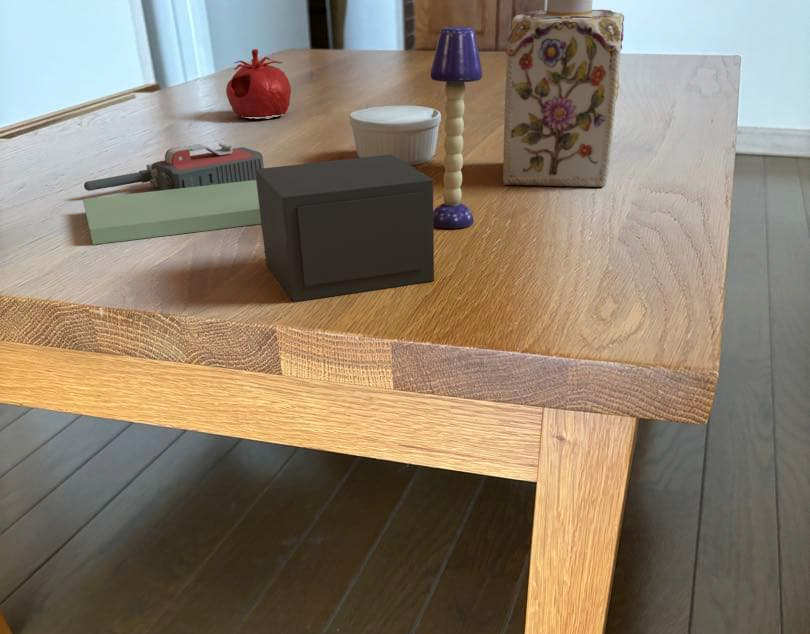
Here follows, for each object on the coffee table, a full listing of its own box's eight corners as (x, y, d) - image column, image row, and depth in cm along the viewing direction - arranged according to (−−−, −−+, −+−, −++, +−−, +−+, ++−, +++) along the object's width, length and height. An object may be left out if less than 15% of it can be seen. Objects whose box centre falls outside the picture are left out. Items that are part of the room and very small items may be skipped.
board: (92, 245, 84) (89, 229, 83) (85, 213, 93) (82, 199, 92) (296, 219, 89) (295, 204, 88) (271, 192, 99) (269, 178, 98)
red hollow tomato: (286, 108, 142) (280, 43, 137) (299, 119, 135) (293, 49, 129) (225, 114, 140) (216, 47, 135) (235, 124, 132) (226, 54, 127)
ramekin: (433, 170, 105) (433, 122, 102) (342, 169, 107) (339, 121, 104) (447, 150, 114) (447, 105, 111) (362, 149, 116) (360, 105, 113)
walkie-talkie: (241, 168, 109) (83, 197, 99) (236, 129, 106) (74, 155, 96) (277, 180, 103) (114, 213, 93) (273, 140, 100) (104, 169, 91)
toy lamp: (443, 214, 89) (442, 24, 80) (486, 218, 88) (491, 25, 78) (423, 227, 86) (420, 30, 76) (467, 231, 84) (470, 30, 74)
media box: (293, 303, 70) (282, 197, 65) (266, 265, 78) (254, 169, 73) (435, 281, 73) (434, 180, 68) (394, 247, 81) (391, 154, 76)
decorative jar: (611, 163, 105) (628, -15, 95) (608, 188, 96) (628, -6, 85) (510, 162, 107) (517, -13, 97) (499, 186, 98) (505, -4, 87)
